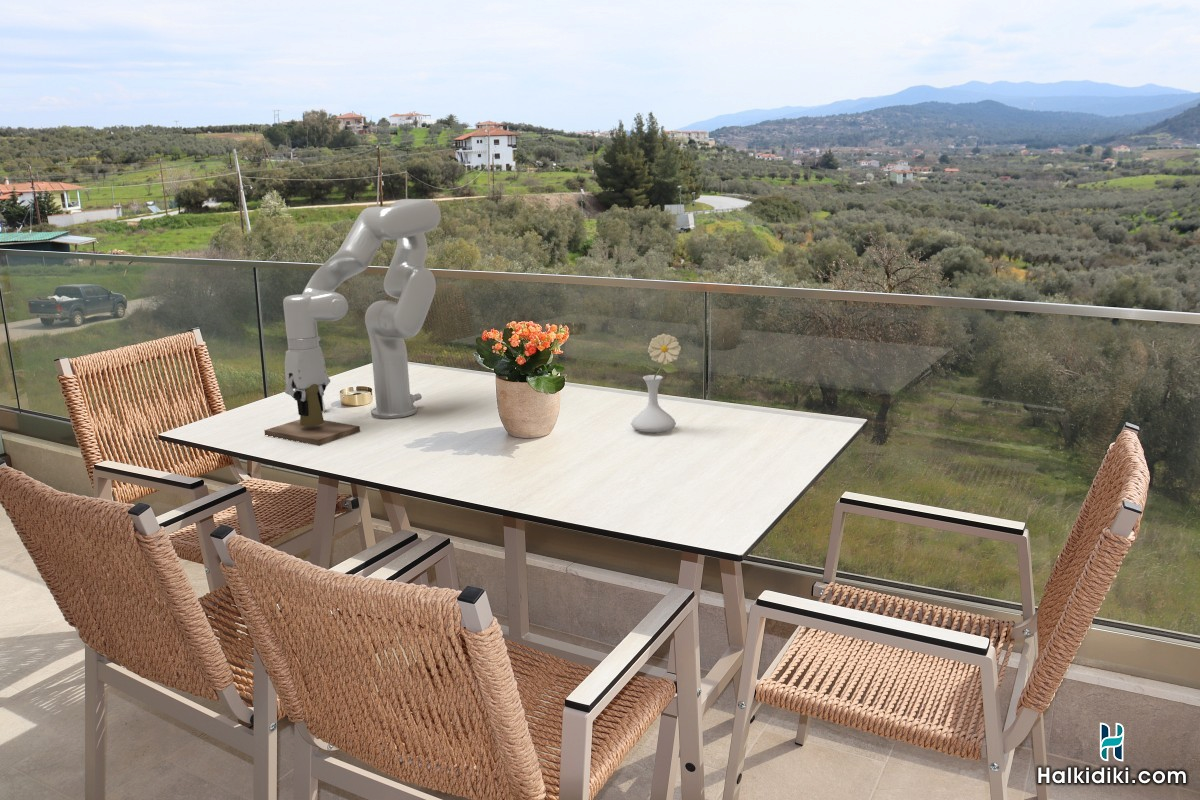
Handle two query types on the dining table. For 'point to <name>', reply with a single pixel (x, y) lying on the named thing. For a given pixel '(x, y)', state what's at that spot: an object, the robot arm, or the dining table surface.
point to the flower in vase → (653, 415)
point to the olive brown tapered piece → (312, 408)
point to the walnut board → (313, 432)
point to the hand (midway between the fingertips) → (311, 412)
